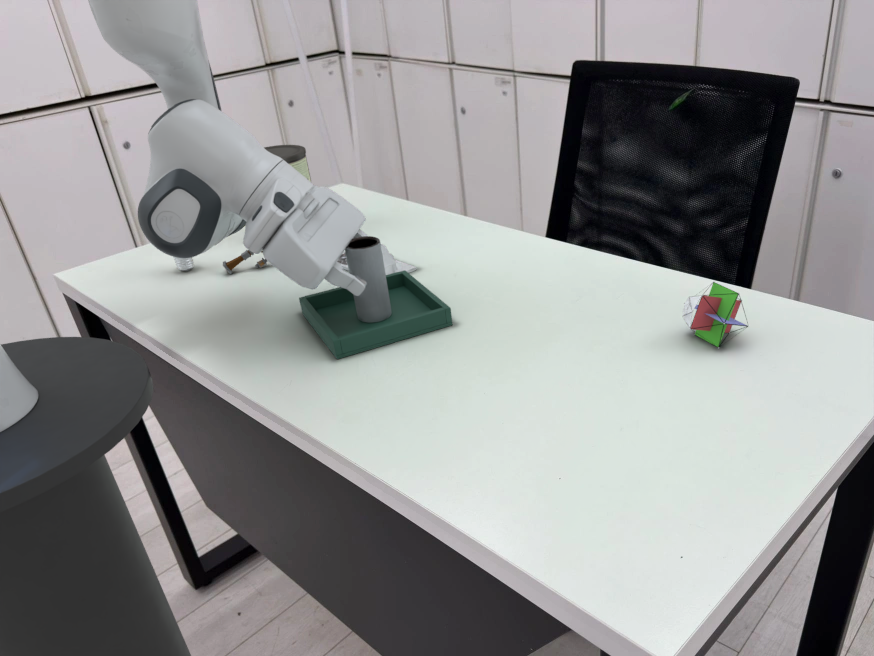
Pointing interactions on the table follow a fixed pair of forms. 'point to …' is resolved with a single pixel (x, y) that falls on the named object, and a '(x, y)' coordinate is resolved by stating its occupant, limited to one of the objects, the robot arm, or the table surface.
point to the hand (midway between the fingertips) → (372, 275)
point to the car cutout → (389, 262)
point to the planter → (369, 278)
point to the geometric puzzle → (713, 313)
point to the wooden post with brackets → (233, 263)
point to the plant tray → (350, 336)
